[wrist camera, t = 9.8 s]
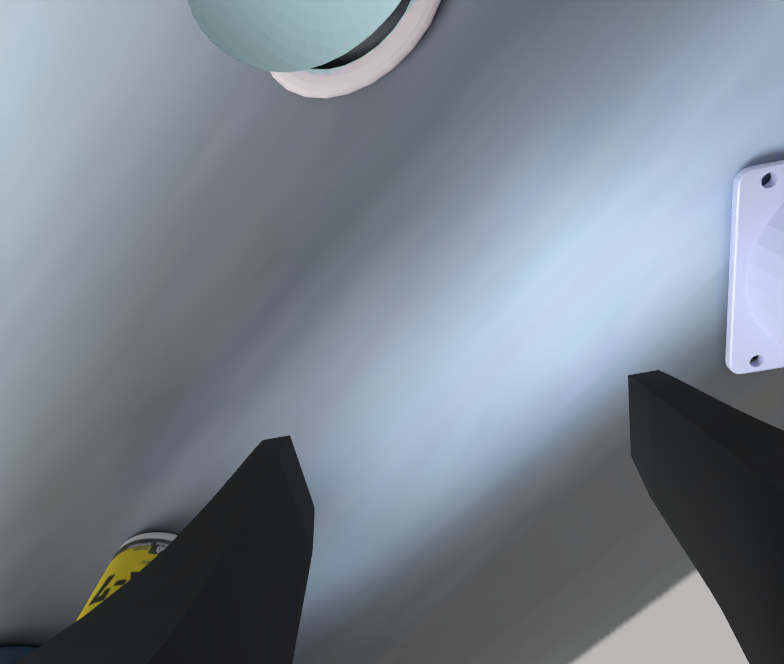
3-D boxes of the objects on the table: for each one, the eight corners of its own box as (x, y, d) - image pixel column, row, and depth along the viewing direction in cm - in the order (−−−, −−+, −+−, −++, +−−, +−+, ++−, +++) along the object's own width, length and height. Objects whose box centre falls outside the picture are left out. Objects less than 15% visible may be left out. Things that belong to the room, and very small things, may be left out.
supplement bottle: (214, 532, 27) (141, 715, 20) (216, 602, 29) (152, 792, 22) (111, 523, 27) (-1, 704, 20) (121, 594, 29) (22, 783, 22)
